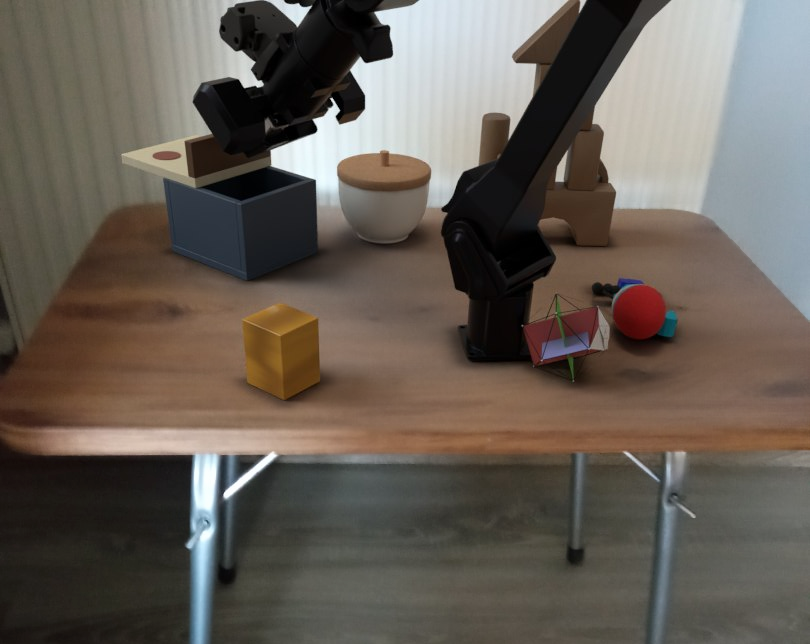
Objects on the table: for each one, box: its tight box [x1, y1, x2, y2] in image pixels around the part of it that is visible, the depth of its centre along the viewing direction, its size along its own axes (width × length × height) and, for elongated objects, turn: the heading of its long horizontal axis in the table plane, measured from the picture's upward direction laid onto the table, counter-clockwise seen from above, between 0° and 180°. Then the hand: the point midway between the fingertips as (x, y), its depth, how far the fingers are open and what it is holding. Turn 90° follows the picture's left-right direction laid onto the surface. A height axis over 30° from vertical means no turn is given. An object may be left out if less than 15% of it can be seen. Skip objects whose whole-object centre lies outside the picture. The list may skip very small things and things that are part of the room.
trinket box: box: [336, 149, 432, 245], centre depth 103 cm, size 11×11×9 cm
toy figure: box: [591, 277, 678, 340], centre depth 89 cm, size 8×5×15 cm
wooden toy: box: [477, 0, 617, 247], centre depth 100 cm, size 16×7×25 cm, turn 92°
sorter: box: [162, 165, 319, 282], centre depth 98 cm, size 12×11×8 cm
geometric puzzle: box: [522, 292, 611, 383], centre depth 80 cm, size 7×7×8 cm
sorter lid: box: [121, 133, 272, 188], centre depth 97 cm, size 12×11×4 cm
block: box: [241, 302, 321, 401], centre depth 76 cm, size 4×4×6 cm
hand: (247, 153), depth 93 cm, fingers closed
